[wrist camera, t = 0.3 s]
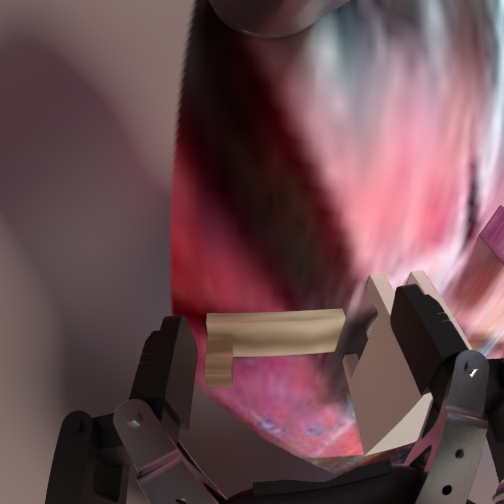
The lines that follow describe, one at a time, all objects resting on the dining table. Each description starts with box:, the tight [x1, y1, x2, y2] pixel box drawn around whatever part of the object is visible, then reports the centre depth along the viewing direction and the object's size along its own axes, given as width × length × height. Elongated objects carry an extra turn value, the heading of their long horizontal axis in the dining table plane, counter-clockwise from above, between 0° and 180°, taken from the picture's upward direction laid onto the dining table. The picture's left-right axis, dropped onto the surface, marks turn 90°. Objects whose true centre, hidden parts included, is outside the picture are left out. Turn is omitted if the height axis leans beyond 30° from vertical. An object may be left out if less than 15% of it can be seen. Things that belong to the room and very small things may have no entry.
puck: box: [364, 312, 378, 339], centre depth 37 cm, size 5×5×2 cm
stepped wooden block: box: [204, 309, 345, 387], centre depth 35 cm, size 7×17×8 cm, turn 90°
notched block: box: [342, 271, 472, 456], centre depth 31 cm, size 19×8×16 cm, turn 1°
